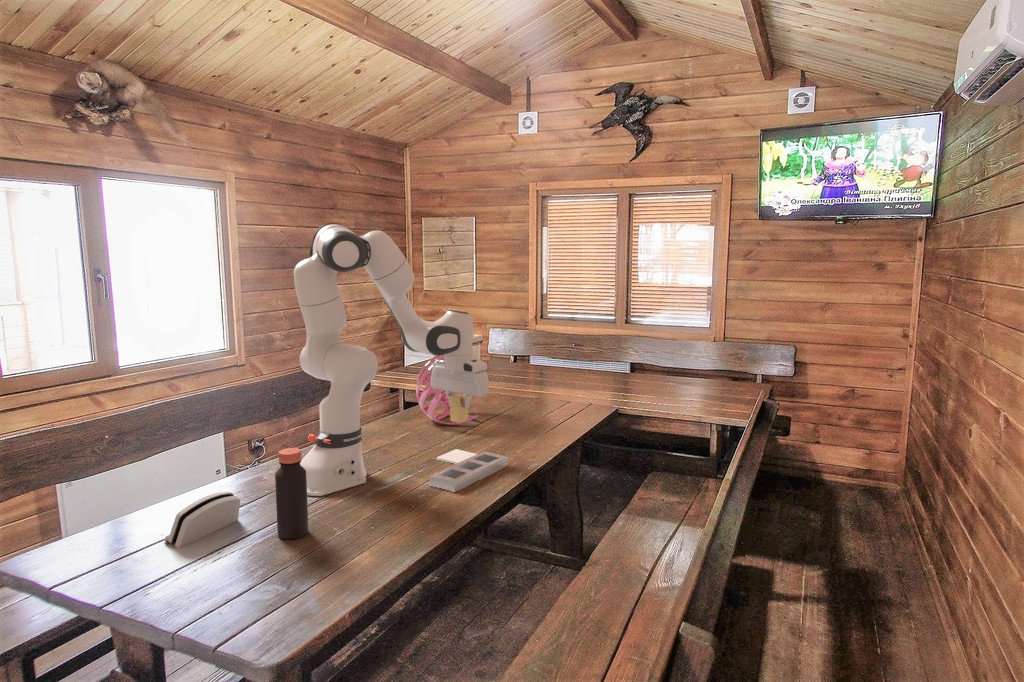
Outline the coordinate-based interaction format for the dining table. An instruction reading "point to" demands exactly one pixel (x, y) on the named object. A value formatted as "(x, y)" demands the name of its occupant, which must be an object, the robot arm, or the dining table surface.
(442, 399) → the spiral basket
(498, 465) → the rail
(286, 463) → the bottle
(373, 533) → the dining table surface
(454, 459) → the pad
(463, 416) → the block
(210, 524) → the napkin holder
